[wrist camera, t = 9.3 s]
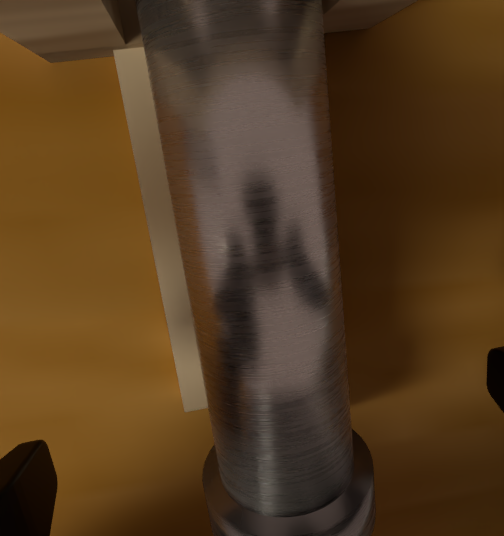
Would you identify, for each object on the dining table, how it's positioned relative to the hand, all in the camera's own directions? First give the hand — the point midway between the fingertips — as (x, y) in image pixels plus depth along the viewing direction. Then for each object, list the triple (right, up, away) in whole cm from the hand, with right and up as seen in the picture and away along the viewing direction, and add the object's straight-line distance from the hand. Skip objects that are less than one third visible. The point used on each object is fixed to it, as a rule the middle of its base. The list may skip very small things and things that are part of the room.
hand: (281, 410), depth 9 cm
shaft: (-1, +4, +2) cm, 5 cm away
